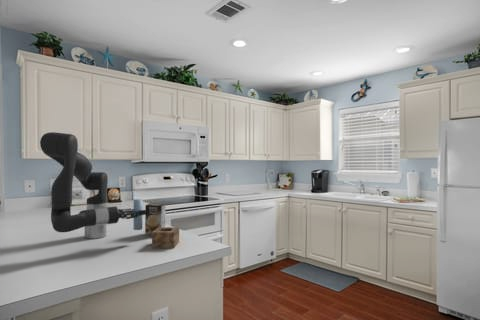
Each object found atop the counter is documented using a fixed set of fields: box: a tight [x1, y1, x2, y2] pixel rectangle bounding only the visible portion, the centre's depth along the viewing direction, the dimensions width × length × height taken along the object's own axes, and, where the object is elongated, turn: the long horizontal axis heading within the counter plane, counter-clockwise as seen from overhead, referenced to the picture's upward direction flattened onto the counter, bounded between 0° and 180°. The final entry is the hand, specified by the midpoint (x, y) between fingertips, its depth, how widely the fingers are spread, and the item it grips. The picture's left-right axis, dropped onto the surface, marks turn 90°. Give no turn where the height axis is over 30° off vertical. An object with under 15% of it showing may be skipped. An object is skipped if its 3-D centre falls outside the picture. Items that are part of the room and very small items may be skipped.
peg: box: [133, 198, 144, 231], centre depth 134 cm, size 4×4×14 cm
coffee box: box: [144, 203, 166, 237], centre depth 150 cm, size 9×6×16 cm
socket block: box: [151, 226, 180, 249], centre depth 131 cm, size 10×10×7 cm
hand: (143, 211), depth 135 cm, fingers closed on peg, 4 cm apart
